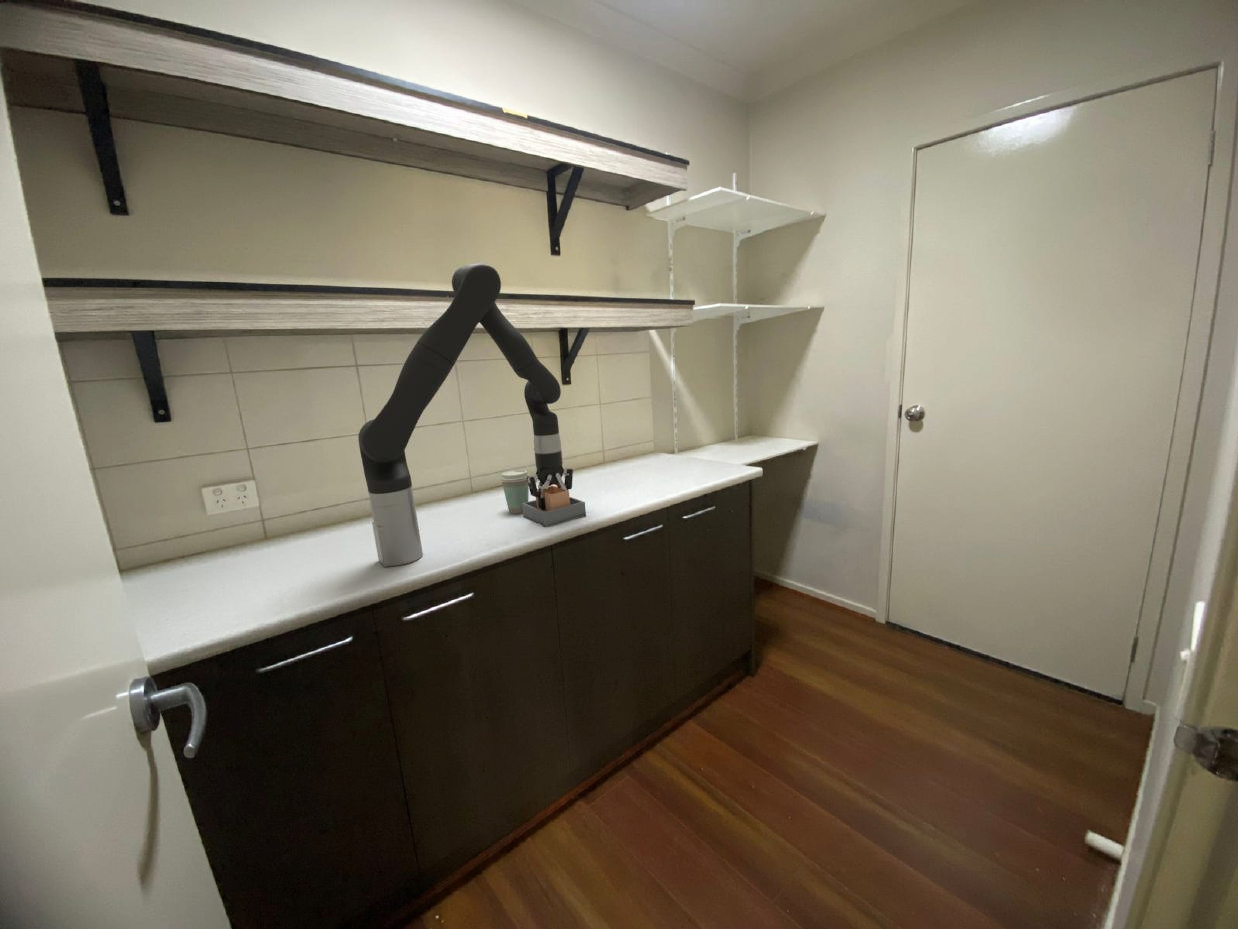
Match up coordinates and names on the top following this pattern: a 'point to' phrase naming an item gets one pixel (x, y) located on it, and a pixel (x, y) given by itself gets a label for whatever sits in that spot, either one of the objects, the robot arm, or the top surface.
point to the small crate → (555, 498)
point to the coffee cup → (515, 489)
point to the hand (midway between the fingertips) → (553, 507)
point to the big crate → (554, 512)
